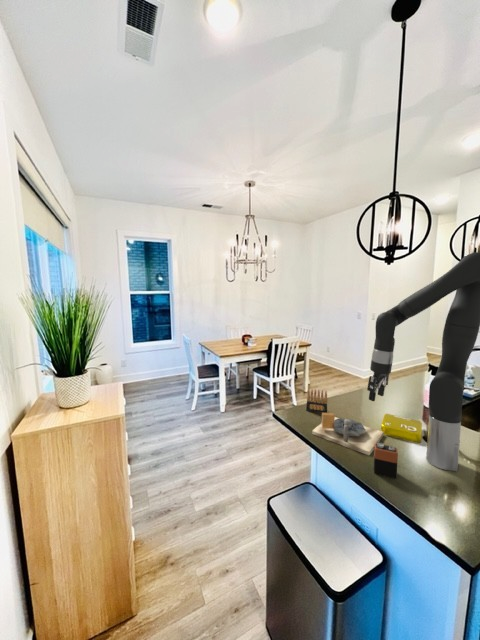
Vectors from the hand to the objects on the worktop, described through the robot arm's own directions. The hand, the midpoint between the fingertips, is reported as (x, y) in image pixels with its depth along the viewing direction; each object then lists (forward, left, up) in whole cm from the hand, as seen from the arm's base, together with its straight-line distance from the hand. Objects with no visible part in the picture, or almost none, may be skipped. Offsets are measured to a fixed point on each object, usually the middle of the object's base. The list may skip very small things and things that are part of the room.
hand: (376, 397), depth 111 cm
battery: (-9, +19, -19) cm, 28 cm away
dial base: (+10, +2, -19) cm, 22 cm away
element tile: (-7, -17, -20) cm, 26 cm away
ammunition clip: (+31, -11, -19) cm, 38 cm away
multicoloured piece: (+12, +4, -16) cm, 20 cm away
